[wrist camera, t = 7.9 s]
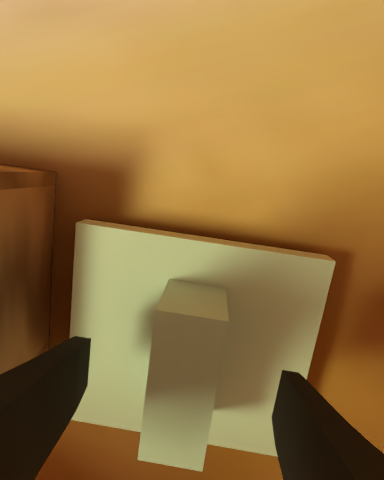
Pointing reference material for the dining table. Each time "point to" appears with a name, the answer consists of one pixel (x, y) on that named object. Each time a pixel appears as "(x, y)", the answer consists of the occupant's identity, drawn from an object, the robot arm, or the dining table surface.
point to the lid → (191, 335)
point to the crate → (25, 263)
